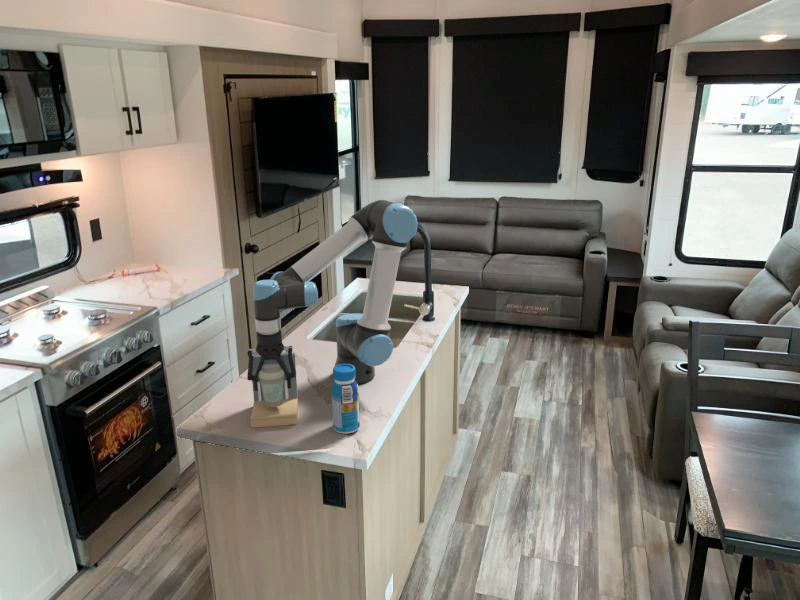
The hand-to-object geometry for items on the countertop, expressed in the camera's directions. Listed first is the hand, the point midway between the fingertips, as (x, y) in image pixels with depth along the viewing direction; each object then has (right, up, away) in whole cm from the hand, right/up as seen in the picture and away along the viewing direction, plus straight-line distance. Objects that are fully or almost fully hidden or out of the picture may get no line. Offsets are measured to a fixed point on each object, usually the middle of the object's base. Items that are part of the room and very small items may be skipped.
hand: (273, 398), depth 187 cm
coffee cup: (0, -2, +1) cm, 2 cm away
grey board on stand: (0, -6, +2) cm, 6 cm away
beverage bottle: (+24, -8, -6) cm, 26 cm away
